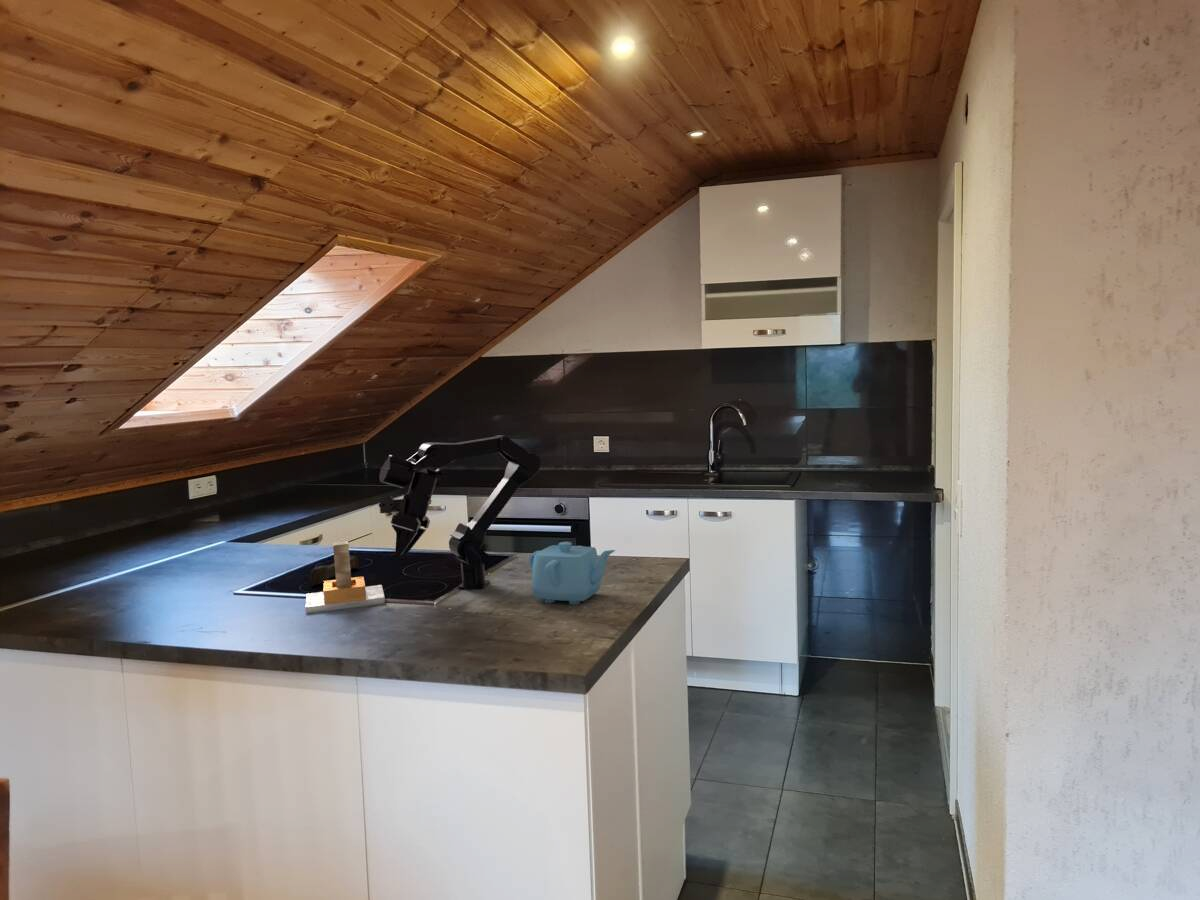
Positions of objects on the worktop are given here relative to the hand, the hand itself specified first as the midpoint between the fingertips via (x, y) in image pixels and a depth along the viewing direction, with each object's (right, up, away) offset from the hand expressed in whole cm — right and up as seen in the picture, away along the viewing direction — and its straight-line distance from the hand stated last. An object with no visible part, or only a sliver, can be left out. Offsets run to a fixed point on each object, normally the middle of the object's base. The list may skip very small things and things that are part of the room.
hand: (401, 555), depth 211 cm
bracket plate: (-14, -11, +1) cm, 18 cm away
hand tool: (-23, -9, +25) cm, 35 cm away
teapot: (+42, -10, -5) cm, 43 cm away
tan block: (-14, -10, +1) cm, 17 cm away
